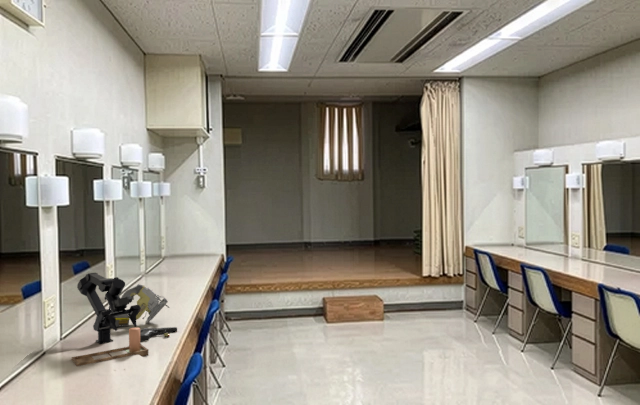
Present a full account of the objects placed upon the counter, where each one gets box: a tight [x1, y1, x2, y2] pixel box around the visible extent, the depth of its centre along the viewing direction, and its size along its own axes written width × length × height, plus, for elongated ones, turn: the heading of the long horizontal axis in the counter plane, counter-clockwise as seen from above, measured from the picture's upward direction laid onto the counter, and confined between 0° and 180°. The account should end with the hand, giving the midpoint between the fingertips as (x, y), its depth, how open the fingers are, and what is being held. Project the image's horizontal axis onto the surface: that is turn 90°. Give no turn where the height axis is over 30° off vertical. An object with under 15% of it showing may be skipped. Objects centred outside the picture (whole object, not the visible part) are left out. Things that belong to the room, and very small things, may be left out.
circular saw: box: [115, 283, 170, 327], centre depth 284 cm, size 10×30×25 cm
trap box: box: [71, 343, 149, 367], centre depth 222 cm, size 30×11×2 cm, turn 127°
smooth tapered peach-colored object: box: [128, 327, 141, 352], centre depth 229 cm, size 5×5×10 cm
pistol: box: [140, 326, 178, 342], centre depth 258 cm, size 3×20×15 cm
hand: (126, 328), depth 234 cm, fingers open, 9 cm apart
